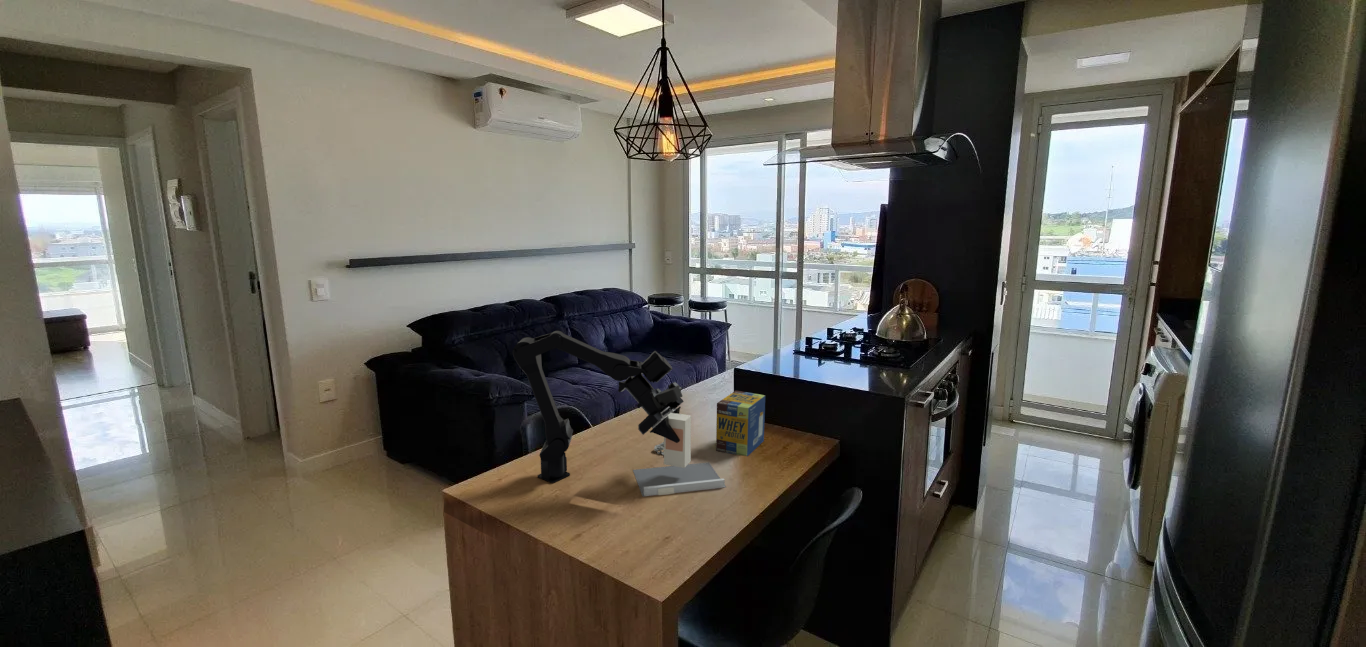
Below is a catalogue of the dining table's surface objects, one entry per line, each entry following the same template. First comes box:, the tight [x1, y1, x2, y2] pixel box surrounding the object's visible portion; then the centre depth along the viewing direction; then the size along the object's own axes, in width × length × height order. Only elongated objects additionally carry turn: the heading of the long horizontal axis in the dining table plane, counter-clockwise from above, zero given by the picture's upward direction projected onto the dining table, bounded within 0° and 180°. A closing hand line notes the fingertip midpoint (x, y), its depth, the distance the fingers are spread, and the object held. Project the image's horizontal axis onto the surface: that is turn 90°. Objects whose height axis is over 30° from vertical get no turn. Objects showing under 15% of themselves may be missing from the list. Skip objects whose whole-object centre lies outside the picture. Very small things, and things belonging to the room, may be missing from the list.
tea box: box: [663, 413, 692, 468], centre depth 151 cm, size 6×5×13 cm
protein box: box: [715, 390, 766, 457], centre depth 177 cm, size 10×15×16 cm
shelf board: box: [632, 461, 727, 497], centre depth 151 cm, size 22×16×4 cm
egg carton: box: [653, 441, 664, 456], centre depth 171 cm, size 11×8×4 cm
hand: (682, 438), depth 151 cm, fingers closed on tea box, 5 cm apart
